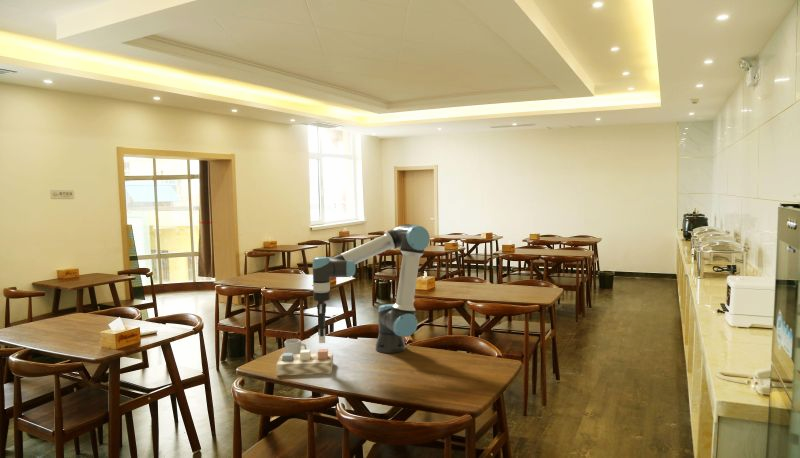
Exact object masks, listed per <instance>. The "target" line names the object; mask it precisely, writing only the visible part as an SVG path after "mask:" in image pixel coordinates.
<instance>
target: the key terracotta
mask: <svg viewBox="0 0 800 458" xmlns="http://www.w3.org/2000/svg"><path fill="white" fill-rule="evenodd" d="M328 353H329V348H319V349H318V351H317V354H318V360H327V359H328Z"/></svg>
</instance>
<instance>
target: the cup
mask: <svg viewBox="0 0 800 458" xmlns="http://www.w3.org/2000/svg"><path fill="white" fill-rule="evenodd" d="M302 346H303V347H304V349H303V350H307V344H305V343H303V342H302V340H301V339H299V338H290V339H286V340H285V341H284V349H285V350H284V351H285V353H293V354H300V351H301V350H302Z"/></svg>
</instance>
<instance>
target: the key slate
mask: <svg viewBox="0 0 800 458" xmlns="http://www.w3.org/2000/svg"><path fill="white" fill-rule="evenodd" d="M281 355H282V361H293V353H286V352H283V353H282V354H281Z"/></svg>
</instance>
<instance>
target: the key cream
mask: <svg viewBox="0 0 800 458" xmlns="http://www.w3.org/2000/svg"><path fill="white" fill-rule="evenodd" d="M311 354H312V353H311V349H310V348H309V349H306V350H304V349H301V351H300V360H311Z"/></svg>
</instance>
